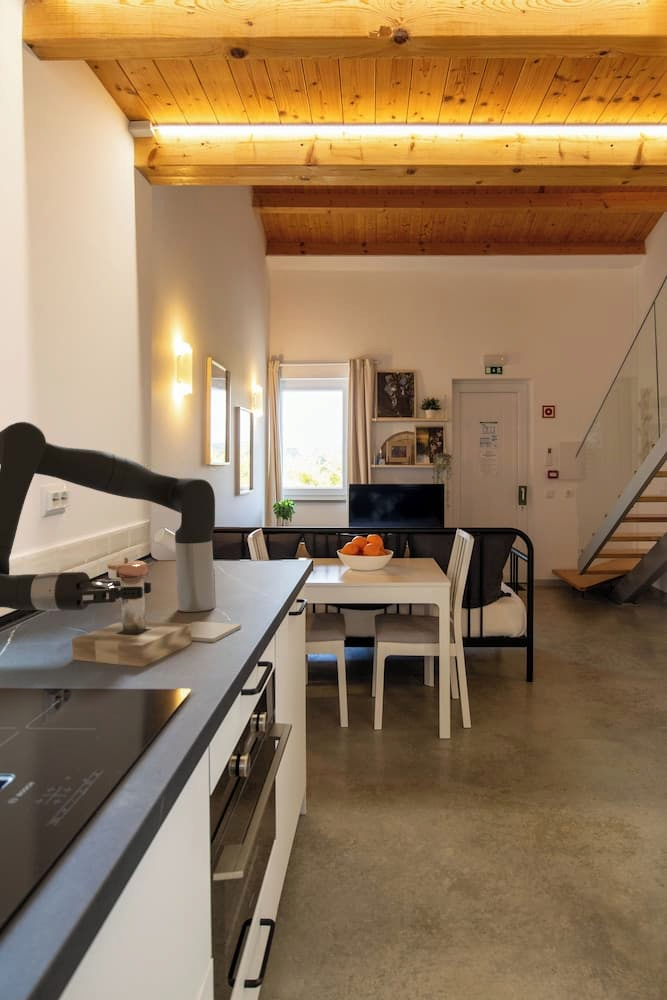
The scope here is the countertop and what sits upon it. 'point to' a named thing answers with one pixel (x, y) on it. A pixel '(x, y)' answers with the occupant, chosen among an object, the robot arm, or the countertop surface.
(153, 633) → the bore block
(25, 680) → the countertop surface
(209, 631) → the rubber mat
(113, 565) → the lidded jar
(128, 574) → the copper-capped metal cylinder
